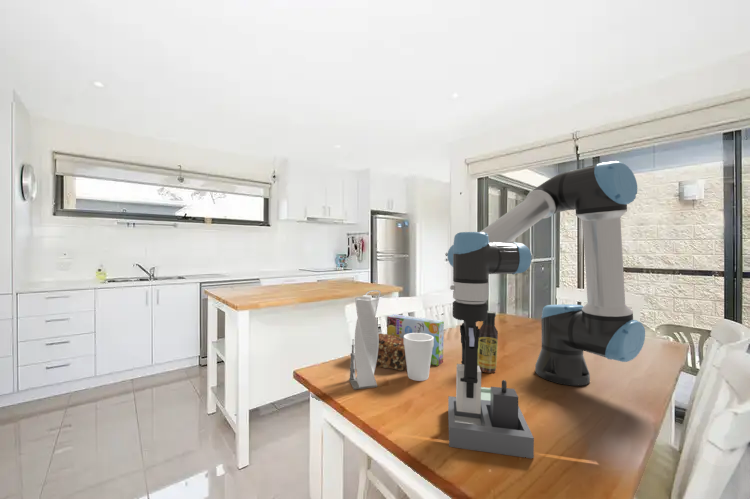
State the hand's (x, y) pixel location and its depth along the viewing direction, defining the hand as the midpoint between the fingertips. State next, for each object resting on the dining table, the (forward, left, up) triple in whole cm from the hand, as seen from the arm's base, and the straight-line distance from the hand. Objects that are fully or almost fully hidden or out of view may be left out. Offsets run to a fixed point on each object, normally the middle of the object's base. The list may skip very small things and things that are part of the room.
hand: (468, 405), depth 70 cm
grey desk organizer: (-4, 0, -6) cm, 7 cm away
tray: (-4, -15, -6) cm, 16 cm away
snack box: (+16, -44, -6) cm, 47 cm away
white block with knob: (0, 0, -1) cm, 1 cm away
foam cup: (+13, -26, -6) cm, 30 cm away
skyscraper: (+28, -18, -6) cm, 34 cm away
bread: (+26, -37, -6) cm, 46 cm away
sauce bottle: (-9, -38, -6) cm, 40 cm away
